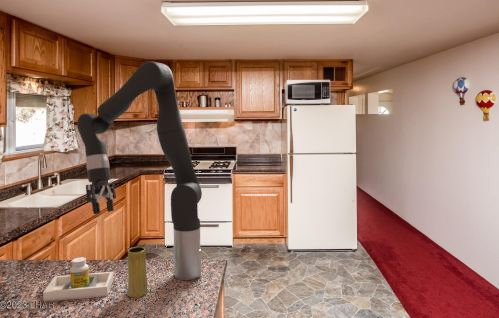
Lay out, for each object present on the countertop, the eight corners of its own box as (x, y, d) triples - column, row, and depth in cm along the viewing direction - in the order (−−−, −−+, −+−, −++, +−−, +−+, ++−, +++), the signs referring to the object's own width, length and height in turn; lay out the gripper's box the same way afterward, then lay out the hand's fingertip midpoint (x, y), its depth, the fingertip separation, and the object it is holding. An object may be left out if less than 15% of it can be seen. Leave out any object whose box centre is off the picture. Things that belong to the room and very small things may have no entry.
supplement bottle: (88, 282, 114) (87, 255, 113) (90, 289, 109) (89, 260, 108) (70, 287, 111) (68, 258, 110) (72, 294, 107) (70, 264, 106)
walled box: (113, 280, 117) (113, 271, 117) (107, 295, 107) (107, 286, 106) (55, 285, 113) (55, 276, 113) (43, 302, 103) (43, 292, 102)
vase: (151, 290, 111) (150, 247, 109) (139, 299, 105) (138, 254, 103) (135, 287, 113) (134, 245, 111) (123, 295, 107) (121, 251, 105)
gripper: (96, 165, 117) (102, 213, 116) (118, 166, 131) (124, 209, 130) (76, 169, 118) (82, 216, 117) (100, 170, 132) (105, 212, 131)
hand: (104, 212), depth 124 cm, fingers open, 8 cm apart
